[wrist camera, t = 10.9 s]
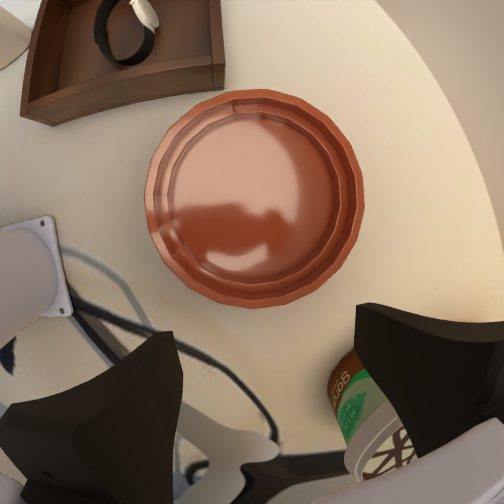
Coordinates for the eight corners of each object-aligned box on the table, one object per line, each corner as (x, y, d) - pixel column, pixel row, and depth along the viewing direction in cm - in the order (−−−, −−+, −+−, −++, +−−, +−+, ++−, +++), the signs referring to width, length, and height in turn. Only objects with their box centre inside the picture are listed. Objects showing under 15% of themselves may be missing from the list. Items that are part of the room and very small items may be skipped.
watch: (171, 56, 16) (162, 32, 12) (110, 83, 16) (90, 65, 12) (148, -9, 14) (139, -34, 10) (94, 15, 14) (78, -6, 10)
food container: (316, 332, 22) (370, 416, 12) (382, 319, 22) (454, 382, 13) (312, 432, 25) (341, 507, 15) (366, 417, 25) (406, 482, 15)
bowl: (171, 301, 20) (164, 319, 17) (148, 115, 17) (137, 103, 14) (347, 278, 21) (365, 291, 18) (335, 102, 18) (352, 91, 15)
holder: (52, 127, 16) (19, 116, 12) (67, 8, 13) (46, -15, 9) (224, 89, 17) (225, 63, 13) (214, -28, 14) (215, -60, 10)
